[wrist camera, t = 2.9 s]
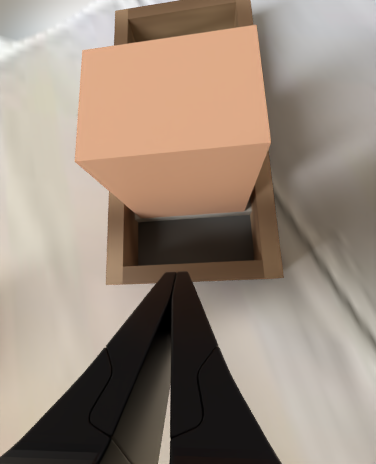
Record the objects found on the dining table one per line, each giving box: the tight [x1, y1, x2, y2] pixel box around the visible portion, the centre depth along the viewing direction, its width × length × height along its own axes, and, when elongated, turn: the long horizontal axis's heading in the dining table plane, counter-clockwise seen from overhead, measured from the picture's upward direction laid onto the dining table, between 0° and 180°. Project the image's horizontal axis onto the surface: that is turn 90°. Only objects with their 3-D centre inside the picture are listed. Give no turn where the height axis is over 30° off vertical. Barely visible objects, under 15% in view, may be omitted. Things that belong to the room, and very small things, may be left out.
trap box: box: [106, 0, 284, 285], centre depth 17 cm, size 20×10×3 cm, turn 3°
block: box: [75, 25, 271, 219], centre depth 13 cm, size 5×7×8 cm
